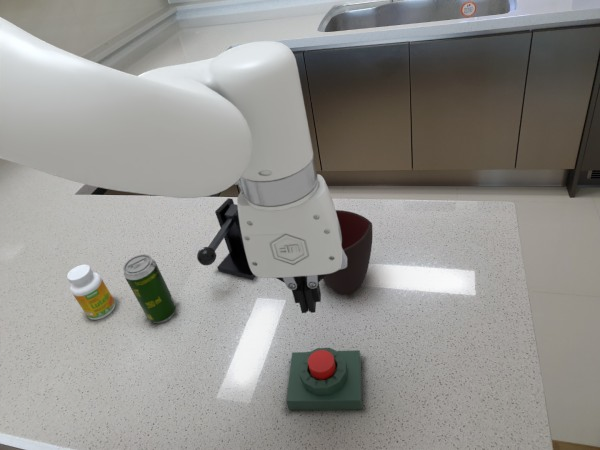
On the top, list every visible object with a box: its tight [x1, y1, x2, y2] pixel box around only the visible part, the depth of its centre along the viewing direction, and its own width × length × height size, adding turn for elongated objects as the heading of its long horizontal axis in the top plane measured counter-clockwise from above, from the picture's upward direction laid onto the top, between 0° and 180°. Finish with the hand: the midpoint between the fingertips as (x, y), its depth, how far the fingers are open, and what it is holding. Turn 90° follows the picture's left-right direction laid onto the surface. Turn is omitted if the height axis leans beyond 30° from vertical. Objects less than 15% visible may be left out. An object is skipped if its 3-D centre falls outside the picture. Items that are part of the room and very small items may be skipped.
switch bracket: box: [214, 197, 257, 281], centre depth 87 cm, size 10×8×13 cm
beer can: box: [122, 253, 177, 324], centre depth 79 cm, size 5×5×12 cm
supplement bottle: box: [66, 264, 116, 321], centre depth 84 cm, size 5×5×10 cm
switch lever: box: [196, 203, 238, 266], centre depth 82 cm, size 13×3×3 cm, turn 152°
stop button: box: [308, 350, 336, 380], centre depth 63 cm, size 4×4×2 cm
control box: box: [285, 347, 363, 411], centre depth 64 cm, size 10×8×4 cm
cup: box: [322, 209, 374, 296], centre depth 79 cm, size 10×14×12 cm
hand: (309, 303), depth 56 cm, fingers closed
